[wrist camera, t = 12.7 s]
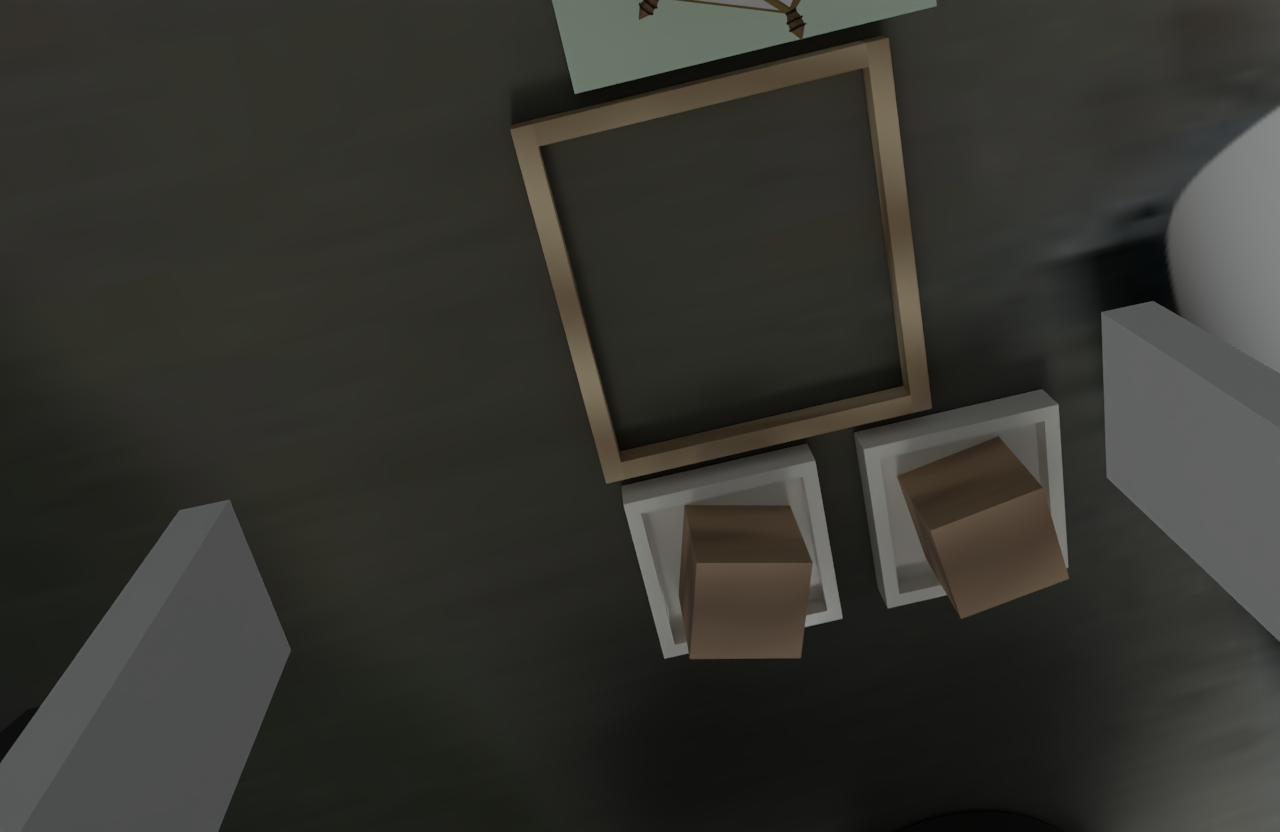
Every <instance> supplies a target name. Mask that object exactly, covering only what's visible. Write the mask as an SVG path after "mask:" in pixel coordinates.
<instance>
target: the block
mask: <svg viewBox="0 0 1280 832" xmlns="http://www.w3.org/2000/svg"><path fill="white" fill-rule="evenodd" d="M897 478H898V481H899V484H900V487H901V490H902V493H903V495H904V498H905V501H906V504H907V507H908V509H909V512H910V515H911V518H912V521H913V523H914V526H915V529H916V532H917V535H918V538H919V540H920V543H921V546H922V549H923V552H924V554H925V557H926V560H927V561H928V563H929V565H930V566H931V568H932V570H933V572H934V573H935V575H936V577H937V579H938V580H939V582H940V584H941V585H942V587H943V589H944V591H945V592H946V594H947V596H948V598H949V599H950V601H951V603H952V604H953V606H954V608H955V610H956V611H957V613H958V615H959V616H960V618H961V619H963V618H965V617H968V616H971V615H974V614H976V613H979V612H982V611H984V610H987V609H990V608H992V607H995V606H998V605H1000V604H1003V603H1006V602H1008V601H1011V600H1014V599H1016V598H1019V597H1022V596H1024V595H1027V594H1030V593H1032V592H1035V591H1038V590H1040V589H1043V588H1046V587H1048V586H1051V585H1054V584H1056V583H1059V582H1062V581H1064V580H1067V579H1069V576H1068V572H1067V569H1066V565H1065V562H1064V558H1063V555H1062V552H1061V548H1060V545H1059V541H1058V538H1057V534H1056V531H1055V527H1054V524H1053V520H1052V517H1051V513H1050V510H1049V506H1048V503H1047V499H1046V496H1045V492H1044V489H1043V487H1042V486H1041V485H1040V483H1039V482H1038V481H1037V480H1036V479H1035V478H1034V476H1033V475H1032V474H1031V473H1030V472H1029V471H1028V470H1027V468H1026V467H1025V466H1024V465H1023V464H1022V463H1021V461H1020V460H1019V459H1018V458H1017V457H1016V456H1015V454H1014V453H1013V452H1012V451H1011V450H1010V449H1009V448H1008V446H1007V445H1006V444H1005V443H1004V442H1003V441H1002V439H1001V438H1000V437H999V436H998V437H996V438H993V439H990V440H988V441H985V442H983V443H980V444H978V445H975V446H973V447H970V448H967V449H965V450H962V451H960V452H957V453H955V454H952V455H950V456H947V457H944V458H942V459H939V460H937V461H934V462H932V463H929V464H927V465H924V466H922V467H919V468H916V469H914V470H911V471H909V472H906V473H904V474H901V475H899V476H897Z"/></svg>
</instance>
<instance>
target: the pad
mask: <svg viewBox="0 0 1280 832" xmlns="http://www.w3.org/2000/svg"><path fill="white" fill-rule="evenodd" d="M642 1H643V0H552V3H553V7H554V11H555V15H556V19H557V23H558V27H559V31H560V36H561V40H562V44H563V48H564V52H565V56H566V60H567V64H568V69H569V73H570V77H571V81H572V85H573V89H574V93H575V94H577V93H581V92H585V91H590V90H594V89H598V88H602V87H606V86H610V85H614V84H618V83H622V82H627V81H631V80H635V79H639V78H643V77H647V76H651V75H655V74H659V73H664V72H668V71H672V70H676V69H680V68H684V67H688V66H692V65H696V64H701V63H705V62H709V61H713V60H717V59H721V58H725V57H729V56H733V55H738V54H742V53H746V52H750V51H754V50H758V49H762V48H766V47H770V46H775V45H779V44H783V43H787V42H791V41H795V40H799V39H800V38H798V37H797V36H796V35H794V34H793V33H792V32H789V30H790V29H789V26H788V25H786V23H787V16H786V14H785V13H777V12H768V11H760V10H752V9H743V8H735V7H727V6H718V5H710V4H702V3H693V2H685V1H677V0H659V1H658V4H657V7H658V8H657V9H655V10H654V11H653V13H654V14H653V15H649V16H647V17H645V18H642V19H640V20H639V7H640V6H639V3H641V2H642ZM935 6H937V3H936V0H801V1H800V2H799V4H798V6H797V7H796V10H797V12H798V13H799V14H800V16H801V15H803V17H802V19H803V22H804V23H806V25H805V27H804V33H803V38H807V37H812V36H816V35H820V34H824V33H828V32H832V31H836V30H840V29H844V28H849V27H853V26H857V25H861V24H865V23H869V22H873V21H877V20H881V19H886V18H890V17H894V16H898V15H902V14H906V13H910V12H914V11H918V10H923V9H927V8H931V7H935Z"/></svg>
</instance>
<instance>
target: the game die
mask: <svg viewBox="0 0 1280 832" xmlns="http://www.w3.org/2000/svg"><path fill="white" fill-rule="evenodd" d="M658 1H659V0H643V1H642V2H641V3H639V6H640V7H639V20H640V19H642V18H645V17H647V16H649V15H653V14H654V13H653V11H654V10H655V9H657V8H658V7H657V4H658ZM677 1H685V2H693V3H702V4H710V5H718V6H727V7H735V8H743V9H752V10H760V11H768V12H777V13H785V14H786V16H787V23H786V25H788V26H789V29H790V30H789V32H792V33H793V34H794V35H796V36H797V37H798V38H800V39H801V40H802V39H803V33H804V27H805V25H806V23H804V22H803V19H802V17H803V15H801V16H800V14H799V13H798V12H797V10H796V7H797V6H798V4H799V2H800V1H801V0H677Z"/></svg>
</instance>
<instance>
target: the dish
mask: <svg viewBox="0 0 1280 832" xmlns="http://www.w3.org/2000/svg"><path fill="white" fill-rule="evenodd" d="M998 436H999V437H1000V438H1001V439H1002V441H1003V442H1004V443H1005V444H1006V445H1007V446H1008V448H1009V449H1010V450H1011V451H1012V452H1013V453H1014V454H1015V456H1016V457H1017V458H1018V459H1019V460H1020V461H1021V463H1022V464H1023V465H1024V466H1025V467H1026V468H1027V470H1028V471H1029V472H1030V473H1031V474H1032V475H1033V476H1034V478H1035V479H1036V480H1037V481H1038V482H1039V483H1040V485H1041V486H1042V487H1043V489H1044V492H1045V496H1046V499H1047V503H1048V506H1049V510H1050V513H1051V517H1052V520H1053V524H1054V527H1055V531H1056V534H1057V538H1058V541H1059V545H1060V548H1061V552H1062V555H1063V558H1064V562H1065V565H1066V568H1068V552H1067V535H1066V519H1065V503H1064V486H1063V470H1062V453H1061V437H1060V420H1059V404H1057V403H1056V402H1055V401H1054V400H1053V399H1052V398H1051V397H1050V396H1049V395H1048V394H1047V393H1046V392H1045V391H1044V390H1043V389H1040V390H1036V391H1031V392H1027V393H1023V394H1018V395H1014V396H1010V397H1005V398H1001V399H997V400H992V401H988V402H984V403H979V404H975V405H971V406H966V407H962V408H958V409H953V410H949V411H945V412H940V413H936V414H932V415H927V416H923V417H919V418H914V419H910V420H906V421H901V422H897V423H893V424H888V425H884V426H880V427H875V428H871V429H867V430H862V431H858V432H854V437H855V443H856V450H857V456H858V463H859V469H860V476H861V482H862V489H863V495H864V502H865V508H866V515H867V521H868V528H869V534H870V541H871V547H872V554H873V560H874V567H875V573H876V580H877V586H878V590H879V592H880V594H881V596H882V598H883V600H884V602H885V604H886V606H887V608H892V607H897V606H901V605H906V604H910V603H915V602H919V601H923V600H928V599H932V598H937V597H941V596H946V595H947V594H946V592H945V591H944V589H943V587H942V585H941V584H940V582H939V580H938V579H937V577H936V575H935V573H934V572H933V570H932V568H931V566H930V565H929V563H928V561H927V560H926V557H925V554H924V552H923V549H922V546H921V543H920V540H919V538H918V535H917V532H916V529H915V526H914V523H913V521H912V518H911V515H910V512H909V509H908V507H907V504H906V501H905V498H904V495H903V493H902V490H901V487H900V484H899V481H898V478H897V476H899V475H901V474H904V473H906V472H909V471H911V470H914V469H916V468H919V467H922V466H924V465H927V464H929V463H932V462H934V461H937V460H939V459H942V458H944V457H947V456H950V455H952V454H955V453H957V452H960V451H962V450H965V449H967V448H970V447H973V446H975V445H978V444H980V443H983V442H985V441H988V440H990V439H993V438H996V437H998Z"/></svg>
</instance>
